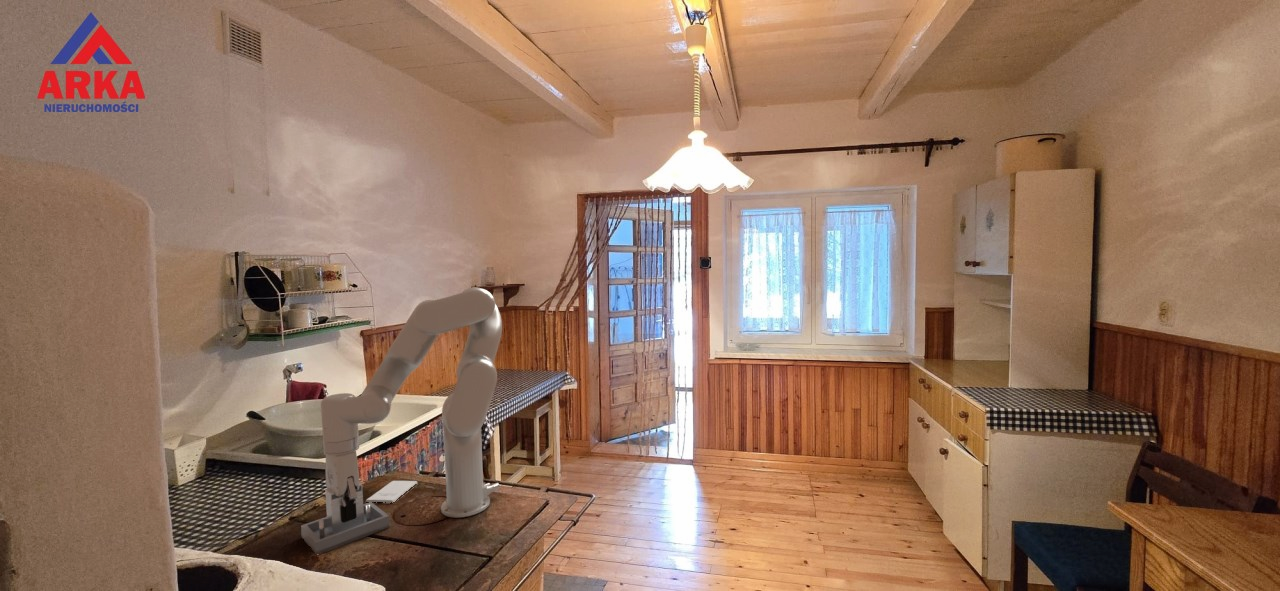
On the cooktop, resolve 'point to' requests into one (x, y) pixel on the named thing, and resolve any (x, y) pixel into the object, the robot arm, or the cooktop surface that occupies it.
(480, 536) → the cooktop surface
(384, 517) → the tray
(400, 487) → the external hard drive
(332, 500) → the block
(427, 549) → the cooktop surface
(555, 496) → the cooktop surface
